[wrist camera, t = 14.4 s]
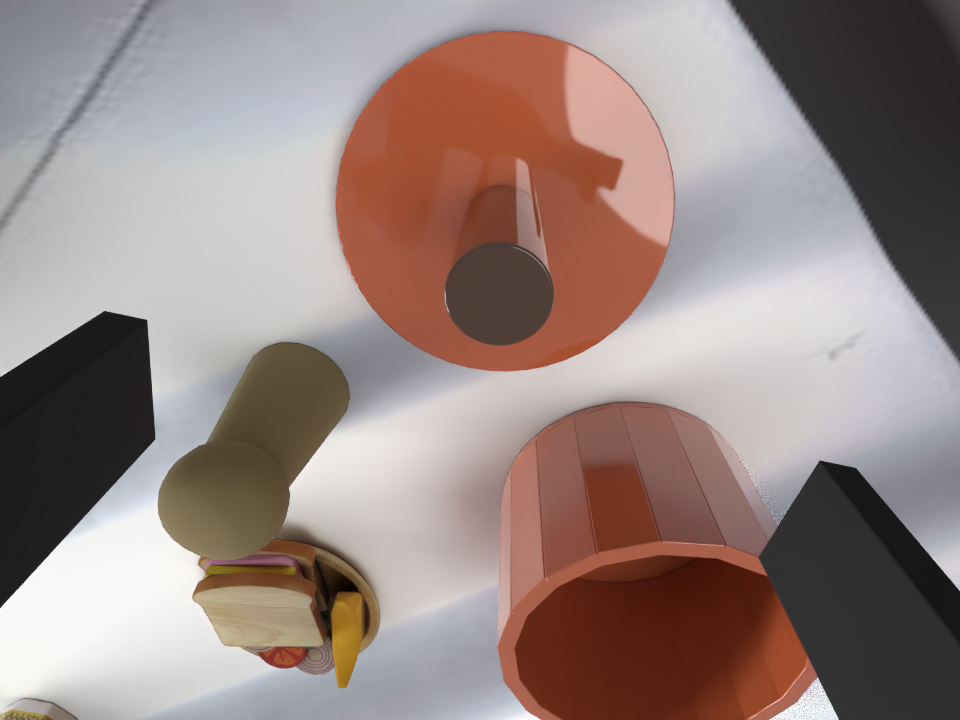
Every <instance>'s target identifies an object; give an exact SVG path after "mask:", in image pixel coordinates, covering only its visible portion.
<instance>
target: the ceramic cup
mask: <svg viewBox="0 0 960 720" xmlns="http://www.w3.org/2000/svg"><path fill="white" fill-rule="evenodd" d="M0 720H77V719H76V718H75V717H73V716H72V715H70V714H69V713H67V712H66V711H64V710H63V709H61V708H59V707H58V706H56V705H55V704H53V703H49V702H43V701H37V700H31V699H21V700H19V701H17V702H15V703H13V704H11V705H9V706H7V707H6V708H4V709H2V710H1V711H0Z"/></svg>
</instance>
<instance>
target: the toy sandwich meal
mask: <svg viewBox="0 0 960 720" xmlns="http://www.w3.org/2000/svg"><path fill="white" fill-rule="evenodd" d="M198 565H199V567H201V568H202V569H203V570H205V572H206V573H205V577H204V579H203V580H201V581H200V582H199V583H198V584H197V586H196V588H195V591H194V593H193V596H192V599H193V600H194V602H196V603H198V604H199V605H201V606H202V608H203V610H204V611H205V613H206V615H207V616H208V618H209V620H210V622H211V624H212V625H213V627H214V629H215V631H216V633H217V634H218V636H219V638H220V640H221V641H222V643H223V644H224V645H226V646H235V647H241V648H243V649H244V650H247V651H248V652H250V653H253V654H254V655H257V656H260V657H261V658H262V659H263V660H264V661H265V662H266V663H268V664H269V665H271V666H274V667H277V668H292V667H295V666H296V667H297V668H298V669H300V670H301V671H303V672H305V673H308V674H312V675H323V674H326V673H328V672H330V671H331V670H332V669H333V668H334V667H335V671H336V679H337V685H338V687H339V688H346V687H347V685H348V683H349V680H350V677H351V674H352V671H353V669H354V666H355V663H356V660H357V657H358V654H359V653H360V652H362V651H363V650H364V649H365V648H367V647H368V646H369V645H370V643H371V642H372V641H373V639H374V638H375V636H376V634H377V632H378V629H379V625H380V609H379V605H378V602H377V599H376V597H375V595H374V593H373V591H372V590H371V588H370V587H369V585H368V584H367V583H366V581H365V580H364V579H363V578H362V577H361V576H360V575H359V574H358V573H357V572H356V571H355V570H354V569H353V568H352V567H351V566H350V565H349V564H347V563H346V562H345V561H343V560H342V559H340V558H339V557H337V556H335V555H333V554H331V553H329V552H327V551H325V550H323V549H320V548H317V547H314V546H311V545H307V544H303V543H299V542H294V541H287V540H279V539H272V540H271V541H270V542H269V543H268V544H267V545H266V546H265V547H263V548H262V549H260V550H258V551H257V552H255V553H253V554H251V555H249V556H247V557H244V558H240V559H235V560H215V559H211V558H207V557H203V556H201V557H200V559H199V561H198Z"/></svg>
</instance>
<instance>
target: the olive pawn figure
mask: <svg viewBox="0 0 960 720" xmlns="http://www.w3.org/2000/svg"><path fill="white" fill-rule="evenodd" d="M349 399H350V396H349V388H348V383H347V381H346V379H345V377H344V375H343V373H342V371H341V369H340V368H339V367H338V366H337V365H336V364H335V363H334V362H333V361H332V360H331V359H330V358H329V357H328V356H326V355H324V354H323V353H321V352H320V351H318V350H316V349H315V348H312V347H308V346H305V345H302V344H298V343H278V344H275V345H272V346H268V347H265V348H264V349H262V350H261V351H260V352H258V353H257V354H256V355H254V356H253V358H252V360H251V361H250V363H249V365H248V366H247V368H246V370H245V372H244V373H243V375H242V377H241V379H240V381H239V383H238V385H237V387H236V388H235V390H234V392H233V394H232V396H231V398H230V400H229V402H228V403H227V405H226V407H225V409H224V411H223V413H222V415H221V416H220V418H219V420H218V422H217V424H216V426H215V428H214V430H213V431H212V433H211V435H210V437H209V439H208V441H207V443H206V444H204V445H200V446H198V447H197V448H195V449H194V450H192V451H190V452H189V453H188V454H186V455H185V456H183V457H182V458H180V459H179V460H178V461H177V462H176V463H175V464H174V465H173V466H172V467H171V469H170V470H169V472H168V473H167V475H166V477H165V479H164V480H163V482H162V485H161V487H160V490H159V496H158V514H159V517H160V520H161V523H162V525H163V527H164V529H165V530H166V531H167V533H168V534H169V535H170V536H171V538H172V539H173V540H175V541H176V542H177V543H179V544H180V545H181V546H182V547H184V548H185V549H187V550H189V551H191V552H193V553H195V554H197V555H199V556H203V557H207V558H211V559H215V560H235V559H240V558H244V557H247V556H249V555H251V554H253V553H255V552H257V551H258V550H260V549H262V548H263V547H265V546H266V545H267V544H268V543H269V542H270V541H271V540H272V539H273V538H274V536H275V535H276V534H277V533H278V531H279V530H280V529H281V527H282V525H283V523H284V521H285V519H286V515H287V511H288V506H289V499H290V492H289V487H290V485H291V484H292V483H293V481H294V480H295V479H296V477H297V476H298V475H299V473H300V472H301V471H302V469H303V468H304V467H305V465H306V464H307V463H308V462H309V460H310V459H311V458H312V456H313V455H314V454H315V452H316V451H317V450H318V448H319V447H320V446H321V444H322V443H323V442H324V440H325V439H326V438H327V436H328V435H329V434H330V433H331V431H332V430H333V429H334V427H335V426H336V425H337V423H338V422H339V421H340V419H341V418H342V417H343V415H344V414H345V412H346V411H347V407H348V403H349Z"/></svg>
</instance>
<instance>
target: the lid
mask: <svg viewBox="0 0 960 720" xmlns="http://www.w3.org/2000/svg"><path fill="white" fill-rule="evenodd" d="M674 206H675V191H674V180H673V171H672V167H671V163H670V158H669V154H668V150H667V147H666V145H665V142H664V139H663V137H662V134H661V132H660V129H659V127H658V125H657V123H656V121H655V120H654V118H653V116H652V114H651V112H650V111H649V109H648V107H647V106H646V104H645V103H644V102H643V100H642V99H641V98H640V97H639V95H638V94H637V93H636V91H635V90H634V89H633V87H632V86H631V85H630V84H629V83H627V82H626V81H625V80H624V79H623V78H622V77H621V76H620V75H619V74H618V73H617V72H616V71H615V70H614V69H613V68H611V67H610V66H608V65H607V64H606V63H604V62H603V61H601V60H600V59H599V58H597V57H596V56H594V55H592V54H591V53H589V52H587V51H585V50H583V49H581V48H579V47H577V46H575V45H573V44H570V43H567V42H564V41H561V40H558V39H556V38H553V37H550V36H545V35H539V34H534V33H528V32H517V31H494V32H487V33H479V34H472V35H468V36H465V37H461V38H458V39H454V40H451V41H448V42H445V43H443V44H441V45H439V46H437V47H434V48H432V49H430V50H428V51H426V52H424V53H422V54H421V55H419V56H418V57H416V58H415V59H413V60H412V61H410V62H408V63H407V64H405V65H404V66H403V67H402V68H400V69H399V70H398V71H397V72H396V73H395V74H394V75H392V76H391V77H390V78H389V79H388V80H387V81H386V82H385V83H384V84H383V85H382V86H381V87H380V89H379V90H378V91H377V92H376V93H375V94H374V96H373V97H372V98H371V99H370V100H369V102H368V103H367V105H366V106H365V108H364V110H363V111H362V113H361V114H360V116H359V117H358V119H357V121H356V123H355V125H354V127H353V129H352V132H351V134H350V136H349V138H348V140H347V143H346V146H345V149H344V153H343V156H342V159H341V163H340V168H339V174H338V180H337V186H336V215H337V225H338V232H339V237H340V241H341V245H342V250H343V253H344V256H345V258H346V261H347V264H348V267H349V269H350V272H351V274H352V276H353V278H354V279H355V281H356V283H357V285H358V287H359V289H360V291H361V292H362V294H363V295H364V297H365V298H366V300H367V301H368V302H369V304H370V305H371V307H372V308H373V309H374V310H375V311H376V312H377V314H378V315H379V316H380V317H381V318H382V319H383V320H384V322H386V323H387V324H388V325H389V326H390V327H391V328H392V329H393V330H394V331H396V332H397V333H398V334H399V335H400V336H402V337H403V338H404V339H406V340H407V341H409V342H410V343H412V344H413V345H414V346H416V347H418V348H420V349H421V350H423V351H425V352H427V353H429V354H431V355H433V356H435V357H438V358H440V359H442V360H445V361H447V362H450V363H453V364H457V365H461V366H464V367H468V368H474V369H480V370H487V371H519V370H529V369H534V368H539V367H544V366H548V365H551V364H554V363H557V362H561V361H564V360H566V359H568V358H571V357H573V356H575V355H577V354H580V353H582V352H584V351H585V350H587V349H589V348H590V347H592V346H594V345H595V344H597V343H599V342H600V341H601V340H603V339H604V338H605V337H607V336H608V335H609V334H611V333H612V332H613V331H614V330H616V329H617V328H618V327H619V326H620V325H621V324H622V323H623V322H624V321H625V320H626V319H627V318H628V317H629V316H630V315H631V314H632V312H633V311H634V310H635V309H636V308H637V306H638V305H639V304H640V303H641V301H642V300H643V299H644V297H645V295H646V294H647V292H648V291H649V289H650V287H651V286H652V284H653V283H654V281H655V279H656V277H657V274H658V272H659V270H660V268H661V266H662V264H663V261H664V258H665V255H666V252H667V249H668V246H669V242H670V238H671V232H672V227H673V221H674Z"/></svg>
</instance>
